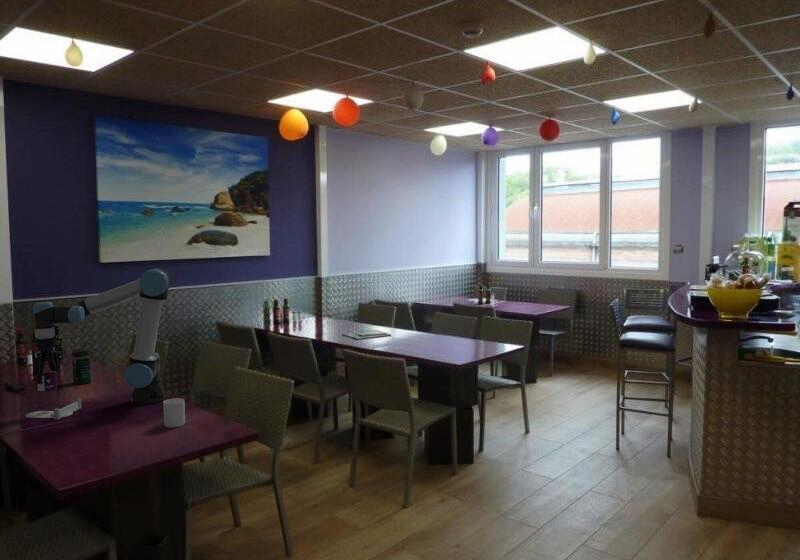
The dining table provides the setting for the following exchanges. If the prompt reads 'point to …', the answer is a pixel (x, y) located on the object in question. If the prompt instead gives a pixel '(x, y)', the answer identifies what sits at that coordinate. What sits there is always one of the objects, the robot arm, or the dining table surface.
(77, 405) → the divider wall
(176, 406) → the cup
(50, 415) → the pad
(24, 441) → the dining table surface
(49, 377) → the cup
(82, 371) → the coffee jar
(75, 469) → the dining table surface
